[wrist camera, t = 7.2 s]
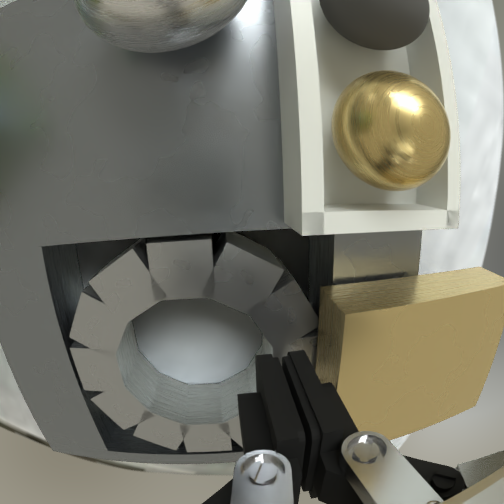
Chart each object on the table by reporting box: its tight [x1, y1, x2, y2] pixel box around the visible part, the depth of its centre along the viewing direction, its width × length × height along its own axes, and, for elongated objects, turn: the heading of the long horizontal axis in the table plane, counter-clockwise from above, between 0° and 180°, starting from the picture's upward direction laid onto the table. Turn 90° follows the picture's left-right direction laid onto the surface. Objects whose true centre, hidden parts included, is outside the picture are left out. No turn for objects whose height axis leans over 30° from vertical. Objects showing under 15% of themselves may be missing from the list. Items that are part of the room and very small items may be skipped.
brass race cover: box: [315, 267, 504, 440], centre depth 11 cm, size 6×8×2 cm
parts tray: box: [273, 0, 460, 236], centre depth 8 cm, size 10×6×2 cm, turn 2°
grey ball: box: [319, 0, 430, 50], centre depth 7 cm, size 4×4×4 cm
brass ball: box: [331, 70, 451, 191], centre depth 8 cm, size 4×4×4 cm
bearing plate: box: [0, 0, 422, 464], centre depth 11 cm, size 22×18×3 cm
